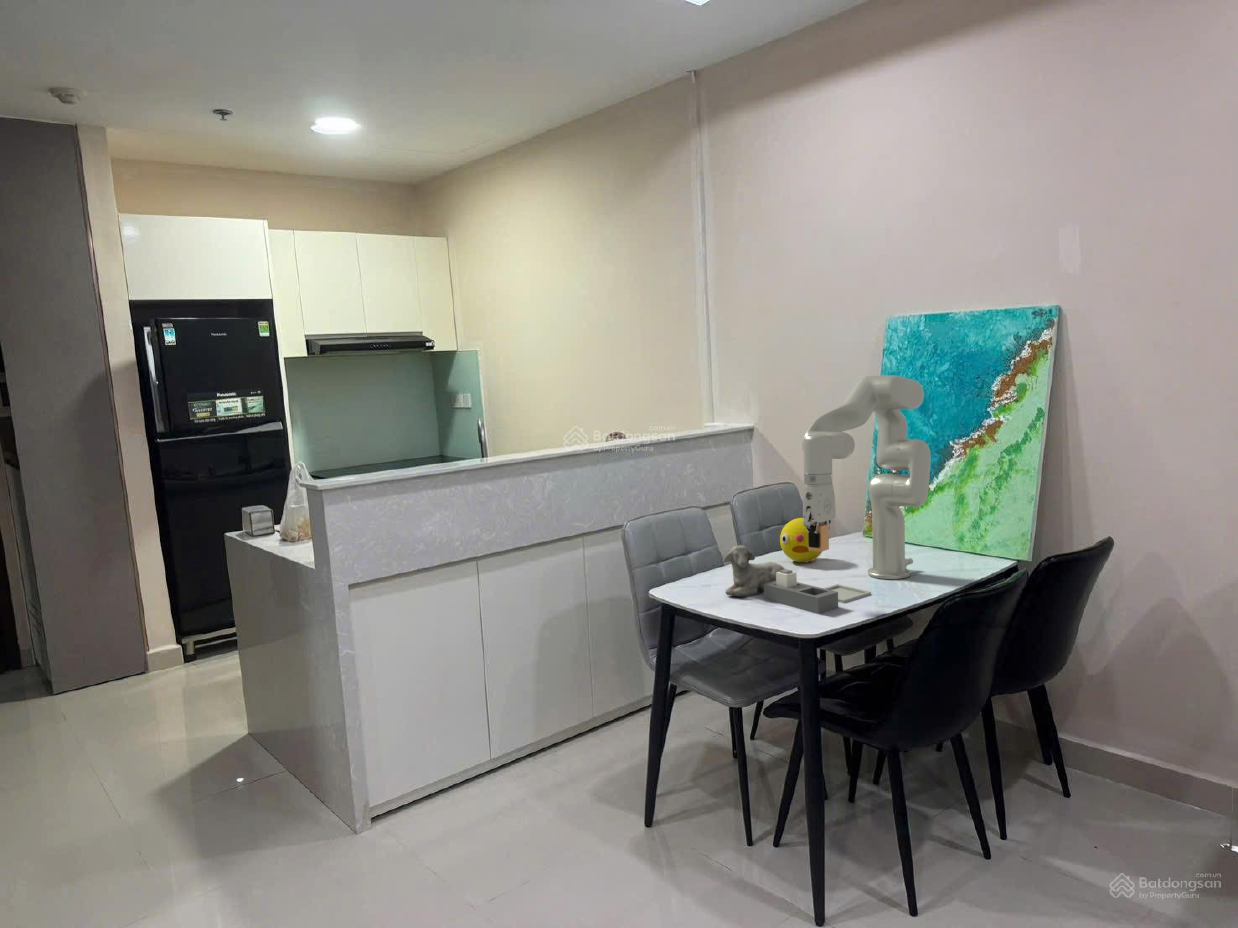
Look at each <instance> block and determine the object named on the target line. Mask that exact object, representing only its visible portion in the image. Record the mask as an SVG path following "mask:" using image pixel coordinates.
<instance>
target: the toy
mask: <svg viewBox="0 0 1238 928" xmlns="http://www.w3.org/2000/svg"><path fill="white" fill-rule="evenodd" d="M812 521H814V520H812ZM803 522H804V518H803V517H798V518H794V519H792V520H790V521H789V522H787V523H786V524H784V525H785V526H783V528H782V530H781V532H780V536H779V543H780V547H781V549H782V551H783V553H784V554H785V556H786V557H788V558H789V559H790V560H792V561H795V562H796V563H809V562H812V561H814V560H817V558H818V557H820V556H821V554H822V553H823V551H822V552H819V551H812V550H809V548H808V532H807V528H806V527H805V526H804V525H803ZM814 522H816V521H814Z"/></svg>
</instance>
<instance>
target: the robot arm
mask: <svg viewBox="0 0 1238 928" xmlns="http://www.w3.org/2000/svg"><path fill="white" fill-rule="evenodd" d="M924 398H925V391H924V388H923V385H921V383H920V382H919V381H917V380H915V379H911V378H907V377H904V376H900V375H892V374H891V375H890V374H889V375H869V376H864V377H862V378H861V379H859V380H858V381H857V383H856V384H855V385H854V386H853V388H852V390H851V391H850V392H849V394H848V395H847V397H846V398H845V399H844V401H843V402H842V403H841V405H839V406H836V407H835V408H833V409H831V410H829V411H827V412H826V413H824V414H822V415H820V416H819V417H818V418H816V419H815V420H814V421H813V422H812V423H811V424H810V426H809V428H807V430H806V432H805V434H804V436H803V438H802V443H801V444H802V445H801V446H802V451H803V485H804V489H803V495H802V496H803V500H802V502H803V503H802V516H803V517H802V518H804V522H803V525H804V526H805V527H806V528H807V532H808V541H809V547H813V548H819V547H820V533H818V530H819V523H822V522H825V524H829V530H830V529H831V527H830V524H831V523H832V521H833V520H834V519H835V518H836V515H837V514H836V512H837V511H836V497H835V489H834V485H833V459H834V460H844V459H847V458H848V457H850V456H851V455H852V454H853V453H854V450H855V448H856V447H855V446H856V445H855V444H856V443H855V439H854V438H853V436H852V435H850V434H849V433H847V432H846V431H850V430H853V429H856V428H859V427H862V426H864V425H865V424H866V423H867V422H868V420H869V419H870V418H871V416H872V414H873V413H874V415H875V416H876V419H877V424H878V426H877V427H878V429H877V442H876V443H877V444H876V464H877V465H878V467H880V468H882V469H885V470H892V471H909V475H908V474H895V473H879V474H876V475H874V476H872V478H871V479H870V480H869V483H868V495H869V500H870V505H871V514H872V515H871V516H872V517H871V518H872V567H870V568H869V569H868V570H867V575H869V576H870V577H873V578H875V579H883V580H899V579H907V578H908V577H910V576H911V571H910V569H908V568H907V566H909V565H912V564H914V560H913V558H912V557H909V558H906V547H905V546H906V537H905V536H906V535H905V534H906V533H905V532H906V530H905V529H906V528H905V527H906V521H905V515H904V513H903V512H902V510H901V509H900V507H907V508H908V507H910V508H919V507H922V506H924V505H925V504H926V502H927V500H928V497H929V488H930V487H929V486H930V478H931V476H930V475H931V461H932V459H931V458H932V457H931V456H932V455H931V449H930V447H929V444H928V443H926V442H925V441H924V440H921V439H913V438H911V439H908V421H907V419H906V417H905V415H904V414H903V413H902V411H901V410H916V409H917V408H919V407H920V406H921V405H922V404H923V403H924ZM812 520H813V521H812ZM814 521H815V522H814ZM812 524H815V527H814V525H812Z"/></svg>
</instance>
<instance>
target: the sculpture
mask: <svg viewBox="0 0 1238 928" xmlns="http://www.w3.org/2000/svg"><path fill="white" fill-rule="evenodd" d="M755 559H756V557H755V555H754V553H753V552H752V551H751V550H749V549H748V548H747V547H746V546H745V545H743V544H742V545H741V544H740V545H739V544H738V545H734V546H733V547H732V548H731V549H730V551H729V552H728V553H727V554H726V555H725V556H724V558H723V563H729V562H730V563H731V567H732V575H733V577H732V578H733V579H732V580H733V584H732V585H731V586H729V587H728V588H726V590H725V595H727V596H732V597H739V598H740V597H747V596H748V597H749V596H756V595H761V594H764V584H766V583H769V582H773V581H776V572H780V570H784V569H786V568H785V567H784V566H782V565H781V564H778V563H777V562H773V561H767V562H762V563H761V562H760V563H753V562H752V563H750V561H754V560H755Z"/></svg>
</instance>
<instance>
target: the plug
mask: <svg viewBox="0 0 1238 928" xmlns="http://www.w3.org/2000/svg"><path fill="white" fill-rule="evenodd" d="M812 525H814V527H815V524H812ZM829 526H830V525H829V524H825V522H822V523H819V530H818V533H820V547H819V548H813V547H809V541H808V548H809V550H812V551H819V552H822V553H823V552H825V551H828V550H830V531H829V530H830V529H829Z"/></svg>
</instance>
